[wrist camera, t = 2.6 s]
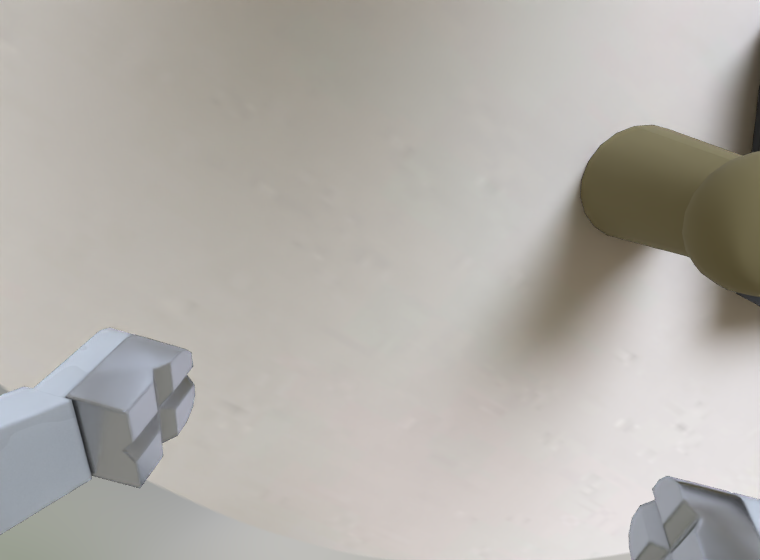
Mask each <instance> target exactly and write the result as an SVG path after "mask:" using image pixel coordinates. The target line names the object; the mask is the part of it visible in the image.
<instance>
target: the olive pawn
mask: <svg viewBox="0 0 760 560" xmlns="http://www.w3.org/2000/svg"><path fill="white" fill-rule="evenodd" d="M581 200H582V204H583V208H584V212H585V214H586V215H587V217H588V218H589V220H590V221H591V223H592V224H593V225H594V226H595V227H596V228H597V229H599V230H600V231H602V232H603V233H605V234H606V235H609V236H612V237H616V238H620V239H624V240H627V241H631V242H635V243H639V244H642V245H646V246H650V247H654V248H658V249H661V250H665V251H669V252H673V253H676V254H680V255H684V256H688V257H690V258H691V260H692V262H693V263H694V265H695V266H696V267H697V268H698V270H699V271H700V272H701V273H702V274H703V275H705V276H706V277H708V278H709V279H710V280H712V281H713V282H715V283H716V284H718V285H720V286H721V287H723V288H725V289H727V290H730V291H734V292H738V293H742V294H746V295H751V296H757V297H760V151H757V152H752V153H749V154H746V155H743V156H742V155H739V154H736V153H734V152H731V151H728V150H725V149H723V148H720V147H717V146H714V145H711V144H709V143H706V142H703V141H700V140H698V139H695V138H692V137H689V136H686V135H684V134H681V133H678V132H675V131H673V130H670V129H666V128H663V127H659V126H655V125H644V126H634V127H631V128H629V129H626V130H624V131H621V132H618V133H616V134H615V135H614V136H612V137H611V138H610V139H608V140H607V141H606V142H604V143H603V144H602V145H601V146H600V147H599V148H598V150H597V151H596V152H595V154H594V155H593V156H592V158H591V159H590V160H589V162H588V164H587V167H586V169H585V172H584V175H583V177H582V184H581Z"/></svg>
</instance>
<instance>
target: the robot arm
mask: <svg viewBox="0 0 760 560" xmlns="http://www.w3.org/2000/svg"><path fill="white" fill-rule="evenodd" d="M192 367H193V360H192V352H190V351H188V350H187V349H184V348H180V347H177V346H173V345H170V344H167V343H163V342H160V341H156V340H153V339H149V338H146V337H143V336H139V335H136V334H135V335H134V334H131V333H127V332H124V331H120V330H117V329H113V328H110V327H109V328H106V329H103V330H100V331H99V332H97V333H96V334H95V335H94V336H93V337H92V338H90V339H89V340H88V341H87V342H86V343H85V344H84V345H82V346H81V347H80V348H79V349H78V350H77V351H75V352H74V353H73V354H72V355H71V356H70V357H69V358H67V359H66V360H65V361H64V362H63V363H62V364H60V365H59V366H58V367H57V368H56V369H55V370H54V371H52V372H51V373H50V374H49V375H48V376H47V377H46V378H44V379H43V380H42V381H41V382H40V383H39V384H37V385H36V386H35V387H34V388H29V387H25V386H24V387H21V388H19V389H16V390H13V391H10V392H7V393H4V394H2V395H0V535H1V534H3V533H4V532H6V531H7V530H9V529H11V528H12V527H14V526H16V525H17V524H19V523H21V522H22V521H24V520H25V519H27V518H29V517H30V516H32V515H34V514H35V513H37V512H39V511H40V510H42V509H44V508H45V507H47V506H48V505H50V504H52V503H53V502H55V501H57V500H58V499H60V498H61V497H63V496H65V495H67V494H68V493H70V492H71V491H73V490H75V489H76V488H78V487H80V486H81V485H83V484H84V483H86V482H88V481H89V480H91V479H92V476H95V477H99V478H102V479H106V480H110V481H114V482H118V483H122V484H125V485H129V486H133V487H137V488H141V486H142V485H143V484H144V482H145V481H146V479H147V478H148V477H149V475H150V474H151V472H152V471H153V470H154V468H155V467H156V465H157V464H158V463H159V461H160V460H161V458H162V457H163V447H162V443H164V442H166V441H168V440H170V439H172V438H174V437H176V436H178V434H179V433H180V431H181V430H182V428H183V427H184V426H185V424H186V423H187V420H188V418H189V415H190V413H191V411H192V408H193V404H194V398H195V385H194V383H193V382H192V381H191V379H190V378H189V377H188V375H187V374H188V372H189V371H190V370H191V369H192ZM652 490H653V494H654V497H655V500H654V501H651V502H648V503H645V504H643V505H640V506H639V508H638V509H637V511H636V513H635V514H634V516H633V517H632V520H631V525H630V530H629V550H630V554H631V559H632V560H760V499H756V498H753V497H749V496H745V495H741V494H737V493H731V492H729V491H726V490H722V489H718V488H714V487H710V486H706V485H702V484H698V483H694V482H690V481H686V480H682V479H678V478H674V477H670V476H666V477H664V478H662V479H659V481H658V482H657V483H656V485H655V486H654V487H653V488H652Z"/></svg>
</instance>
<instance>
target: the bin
mask: <svg viewBox="0 0 760 560" xmlns="http://www.w3.org/2000/svg"><path fill="white" fill-rule="evenodd" d="M757 151H760V87H759V96H758V104H757V113H756V122H755V131H754V139H753V148H752V152H757ZM736 294H738V295H740V296H742V297H744V298H745V299H747V300H749V301H751V302H753V303H755V304H757V305H759V306H760V297H757V296H751V295H746V294H742V293H738V292H736Z"/></svg>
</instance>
